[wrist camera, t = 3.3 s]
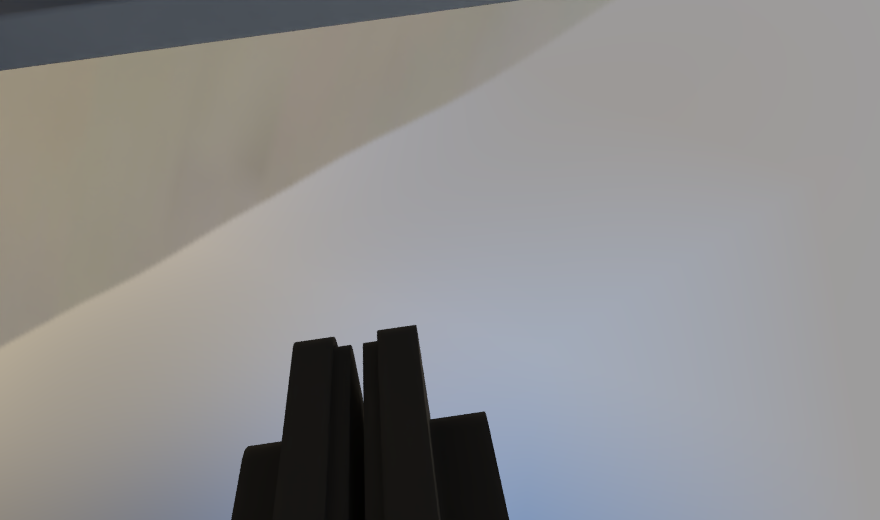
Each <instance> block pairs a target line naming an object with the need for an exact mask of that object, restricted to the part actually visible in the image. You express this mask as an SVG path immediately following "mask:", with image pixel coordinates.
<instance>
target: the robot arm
mask: <svg viewBox="0 0 880 520" xmlns="http://www.w3.org/2000/svg"><path fill="white" fill-rule="evenodd" d="M363 389H364V390H363V391H364V402H363V397H362V393H361V388H360V382H359V377H358V373H357V368H356V362H355V358H354V353H353V349H352V346H351V345H347V346H340V347H338V345H337V342H336V339H335V337H329V338H322V339H315V340H308V341H301V342H295V343H294V346H293V352H292V360H291V369H290V377H289V385H288V394H287V402H286V410H285V419H284V427H283V435H282V441H281V442H274V443H267V444H261V445H254V446H248V447H247V448H246V449H245V451H244V455H243V458H242V464H241V469H240V474H239V480H238V485H237V491H236V496H235V502H234V508H233V513H232V519H231V520H509V517H508V512H507V508H506V503H505V498H504V494H503V489H502V485H501V480H500V476H499V471H498V466H497V462H496V457H495V452H494V448H493V443H492V439H491V434H490V429H489V425H488V421H487V417H486V413H485V412H479V413H471V414H464V415H458V416H451V417H444V418H437V419H430V412H429V405H428V399H427V392H426V385H425V379H424V372H423V366H422V359H421V353H420V346H419V339H418V333H417V327H416V325H412V326H405V327H398V328H391V329H384V330H378V331H377V341H375V342H369V343H363Z"/></svg>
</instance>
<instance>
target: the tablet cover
mask: <svg viewBox="0 0 880 520" xmlns="http://www.w3.org/2000/svg"><path fill="white" fill-rule="evenodd" d="M510 1H517V0H0V71H1V70H9V69H16V68H24V67H31V66H38V65H46V64H53V63H60V62H68V61H75V60H83V59H90V58H97V57H105V56H112V55H119V54H127V53H134V52H141V51H149V50H156V49H164V48H171V47H178V46H186V45H193V44H200V43H208V42H215V41H223V40H230V39H237V38H245V37H252V36H259V35H267V34H274V33H281V32H289V31H296V30H304V29H311V28H318V27H326V26H333V25H340V24H348V23H355V22H363V21H370V20H377V19H385V18H392V17H399V16H407V15H414V14H421V13H429V12H436V11H444V10H451V9H458V8H466V7H473V6H480V5H488V4H495V3H503V2H510Z"/></svg>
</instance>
